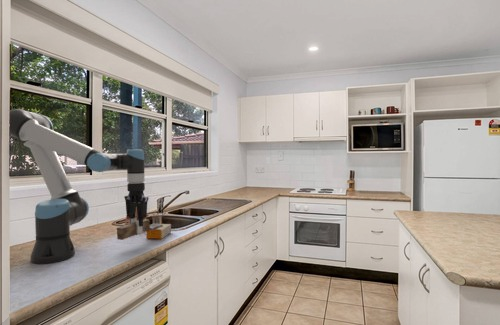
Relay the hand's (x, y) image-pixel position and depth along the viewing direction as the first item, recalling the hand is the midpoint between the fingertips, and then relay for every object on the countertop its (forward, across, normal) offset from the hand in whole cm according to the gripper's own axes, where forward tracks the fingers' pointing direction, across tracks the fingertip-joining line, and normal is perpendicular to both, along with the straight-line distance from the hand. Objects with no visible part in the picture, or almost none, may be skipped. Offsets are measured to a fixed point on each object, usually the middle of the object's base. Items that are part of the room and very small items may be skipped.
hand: (136, 232), depth 136 cm
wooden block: (0, 0, -2) cm, 2 cm away
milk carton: (+6, +24, -21) cm, 33 cm away
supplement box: (+4, +1, -11) cm, 12 cm away
